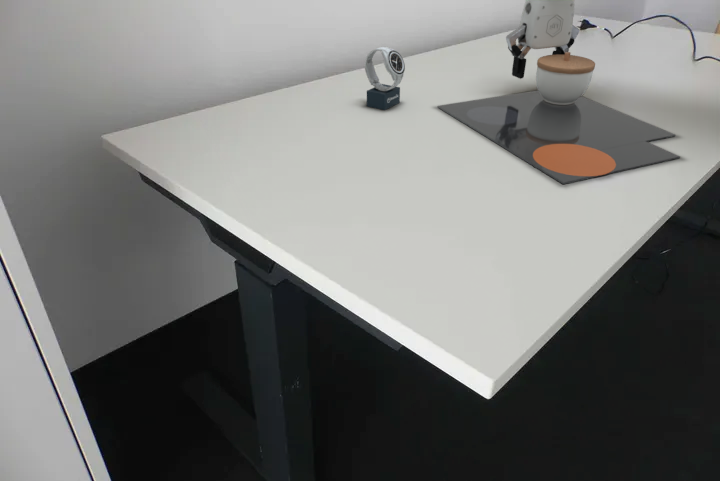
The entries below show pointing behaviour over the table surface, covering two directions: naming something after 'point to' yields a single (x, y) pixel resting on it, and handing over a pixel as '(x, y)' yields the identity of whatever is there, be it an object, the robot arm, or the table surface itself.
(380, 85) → the watch
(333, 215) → the table surface
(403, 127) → the table surface
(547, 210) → the table surface
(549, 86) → the trinket box
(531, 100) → the hob
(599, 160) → the front ring
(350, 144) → the table surface
